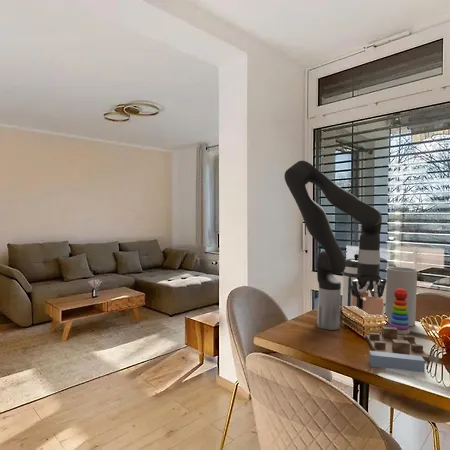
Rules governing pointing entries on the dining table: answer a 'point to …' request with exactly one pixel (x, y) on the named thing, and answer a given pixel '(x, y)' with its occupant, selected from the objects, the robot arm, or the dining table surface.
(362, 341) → the dining table surface
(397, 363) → the blue-grey rectangular bar
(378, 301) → the pink u-shaped block
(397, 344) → the jig
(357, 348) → the dining table surface
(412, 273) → the cylinder vase
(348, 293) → the coffee press
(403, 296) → the stacking toy
